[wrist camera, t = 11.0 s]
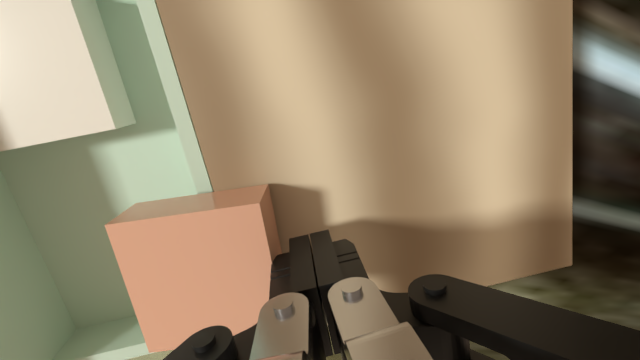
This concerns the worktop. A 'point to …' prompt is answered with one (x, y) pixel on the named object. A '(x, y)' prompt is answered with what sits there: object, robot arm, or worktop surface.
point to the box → (93, 205)
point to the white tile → (57, 73)
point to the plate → (392, 125)
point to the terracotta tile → (196, 261)
